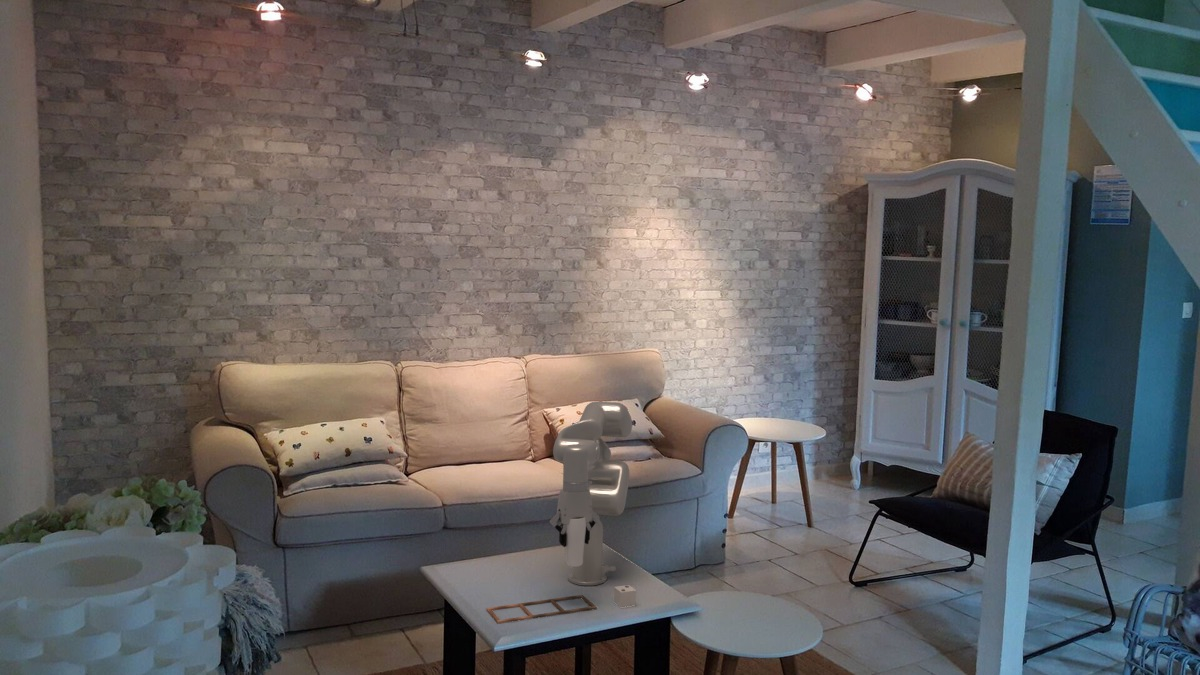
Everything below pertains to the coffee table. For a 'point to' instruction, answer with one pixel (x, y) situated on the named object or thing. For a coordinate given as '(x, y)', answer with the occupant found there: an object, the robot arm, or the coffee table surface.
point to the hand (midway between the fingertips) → (574, 543)
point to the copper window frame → (553, 601)
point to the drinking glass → (575, 542)
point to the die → (624, 596)
